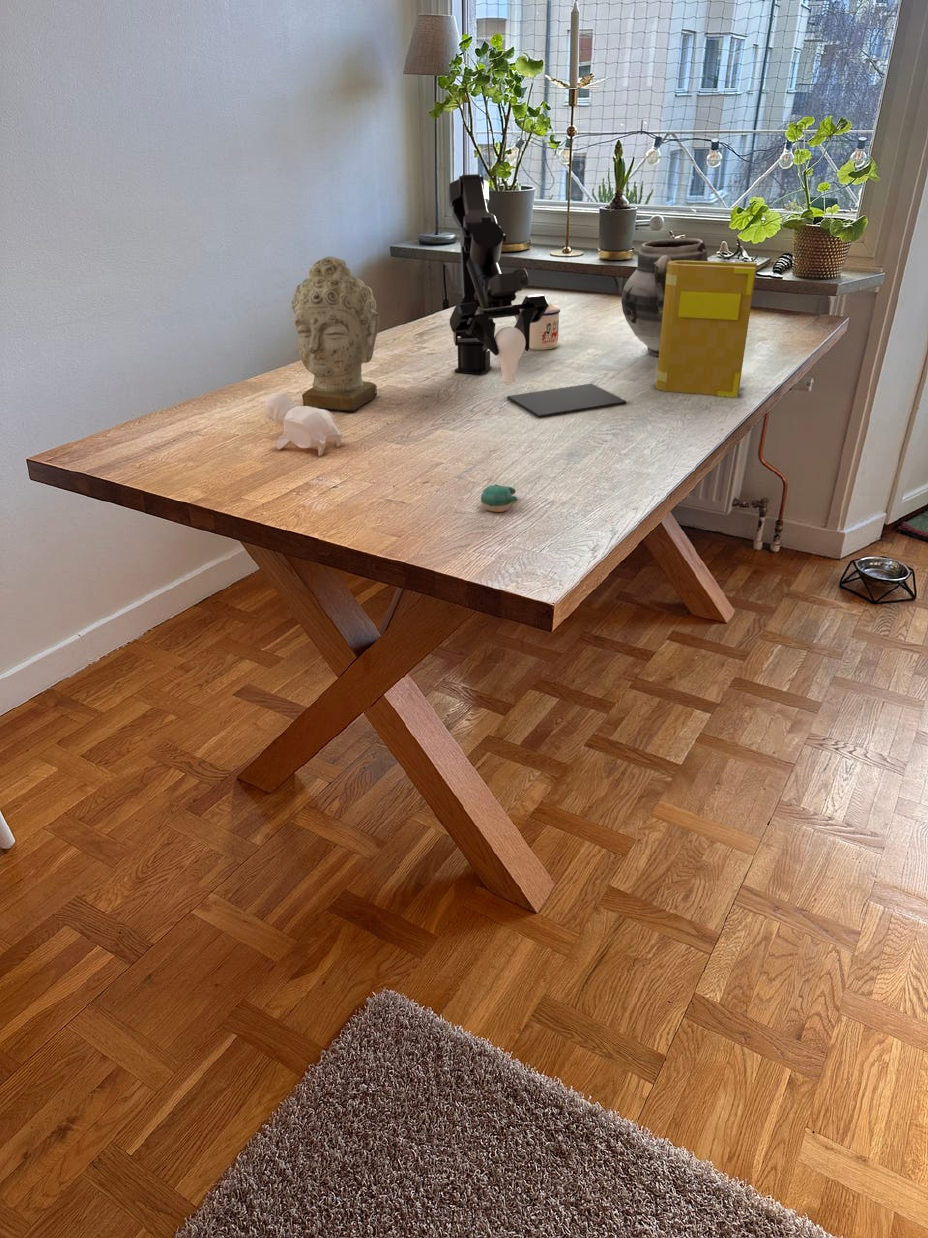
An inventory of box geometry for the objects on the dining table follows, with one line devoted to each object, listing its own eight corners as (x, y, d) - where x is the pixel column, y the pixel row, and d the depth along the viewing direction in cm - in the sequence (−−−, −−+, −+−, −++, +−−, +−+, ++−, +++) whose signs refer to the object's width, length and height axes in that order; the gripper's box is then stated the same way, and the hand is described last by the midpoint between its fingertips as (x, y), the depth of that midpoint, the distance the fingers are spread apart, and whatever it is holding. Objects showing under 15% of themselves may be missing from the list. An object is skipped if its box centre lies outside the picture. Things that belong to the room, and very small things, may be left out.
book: (739, 388, 189) (757, 262, 176) (736, 397, 184) (754, 268, 171) (658, 381, 194) (670, 259, 181) (653, 390, 188) (665, 264, 176)
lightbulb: (514, 391, 170) (515, 332, 164) (487, 386, 173) (487, 328, 167) (530, 383, 174) (531, 325, 168) (503, 378, 177) (503, 321, 171)
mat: (507, 398, 186) (507, 395, 185) (590, 385, 192) (591, 383, 192) (538, 417, 175) (538, 415, 174) (626, 403, 181) (626, 401, 181)
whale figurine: (472, 510, 137) (472, 487, 135) (492, 493, 143) (492, 471, 141) (507, 517, 135) (508, 493, 133) (526, 499, 140) (526, 476, 138)
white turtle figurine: (341, 458, 166) (280, 417, 169) (351, 419, 160) (288, 377, 164) (311, 473, 160) (248, 430, 163) (320, 433, 154) (256, 389, 158)
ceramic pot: (701, 372, 200) (715, 252, 187) (602, 363, 208) (609, 247, 195) (725, 342, 222) (739, 233, 209) (635, 335, 230) (643, 229, 217)
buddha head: (282, 411, 181) (264, 263, 166) (325, 385, 196) (312, 248, 181) (358, 419, 176) (346, 268, 161) (396, 392, 191) (388, 251, 176)
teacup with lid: (546, 352, 217) (548, 302, 211) (515, 347, 222) (515, 298, 216) (571, 341, 225) (573, 293, 219) (540, 337, 230) (542, 289, 224)
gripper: (454, 257, 161) (479, 333, 158) (545, 249, 167) (572, 322, 164) (438, 294, 171) (462, 367, 169) (525, 285, 178) (550, 355, 175)
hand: (512, 352), depth 169 cm, fingers closed on lightbulb, 6 cm apart
